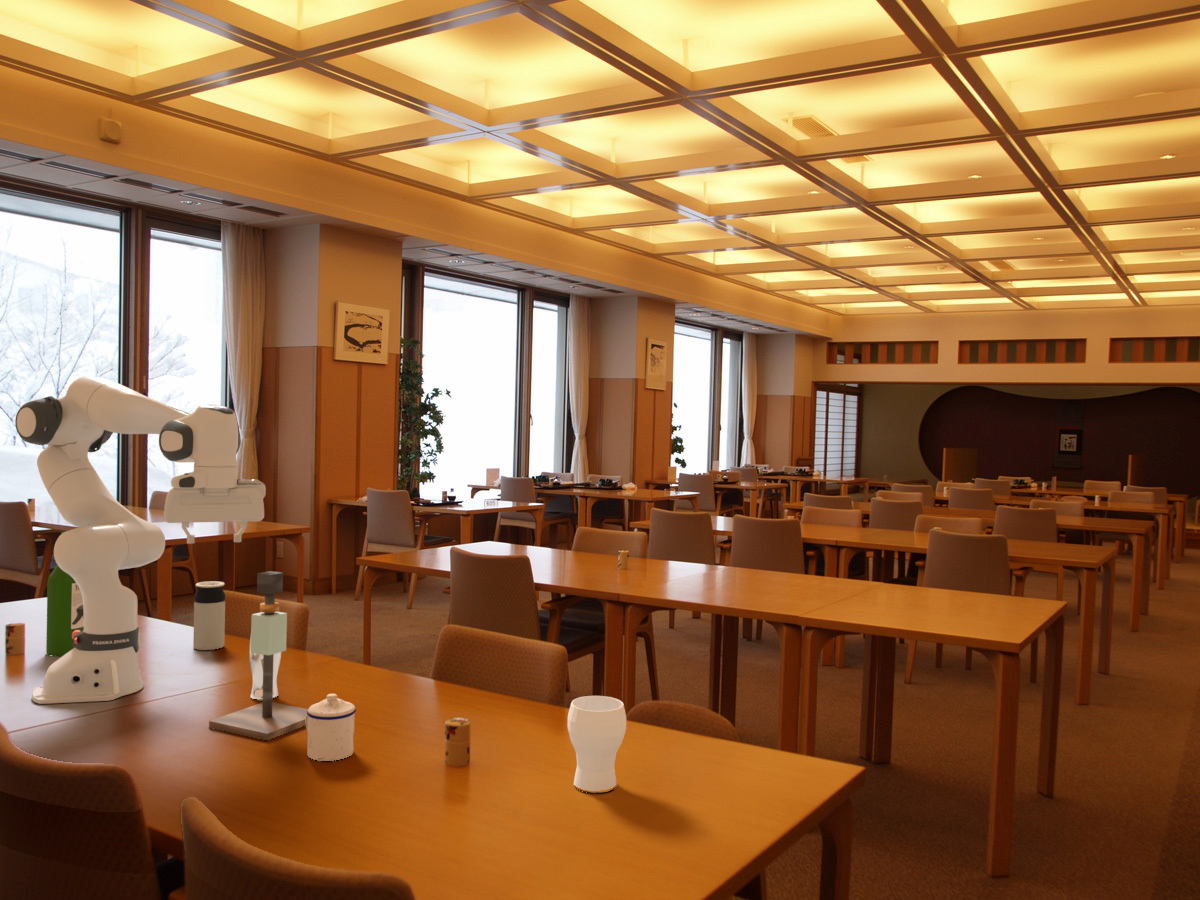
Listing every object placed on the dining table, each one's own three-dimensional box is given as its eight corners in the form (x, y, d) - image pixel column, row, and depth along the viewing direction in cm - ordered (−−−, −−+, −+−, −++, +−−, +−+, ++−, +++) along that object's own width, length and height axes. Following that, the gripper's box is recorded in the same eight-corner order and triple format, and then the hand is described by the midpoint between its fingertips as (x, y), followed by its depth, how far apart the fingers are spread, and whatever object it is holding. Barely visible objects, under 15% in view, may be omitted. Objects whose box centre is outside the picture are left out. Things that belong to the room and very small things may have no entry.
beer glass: (285, 693, 216) (286, 629, 216) (272, 701, 209) (273, 636, 209) (257, 691, 217) (258, 628, 217) (242, 700, 210) (244, 634, 210)
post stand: (267, 741, 184) (270, 582, 183) (209, 728, 191) (212, 574, 190) (322, 719, 198) (326, 571, 198) (266, 707, 205) (269, 564, 204)
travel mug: (207, 652, 251) (208, 587, 251) (186, 648, 255) (188, 584, 254) (230, 646, 258) (231, 582, 258) (210, 643, 262) (211, 580, 261)
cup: (604, 802, 159) (607, 716, 159) (554, 788, 165) (556, 704, 164) (635, 783, 168) (637, 701, 168) (586, 770, 174) (588, 691, 173)
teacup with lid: (364, 753, 179) (366, 694, 179) (326, 766, 171) (327, 704, 171) (325, 739, 186) (326, 682, 186) (286, 751, 178) (288, 692, 178)
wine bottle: (72, 657, 242) (74, 534, 241) (38, 656, 242) (40, 533, 242) (91, 649, 251) (93, 530, 250) (59, 647, 251) (61, 529, 250)
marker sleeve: (268, 655, 191) (269, 617, 191) (250, 652, 193) (251, 614, 193) (286, 650, 195) (287, 613, 195) (268, 647, 197) (269, 610, 197)
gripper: (264, 478, 208) (262, 539, 208) (164, 478, 198) (162, 542, 199) (267, 480, 202) (266, 543, 203) (165, 480, 193) (163, 545, 193)
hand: (214, 542), depth 201 cm, fingers open, 8 cm apart
